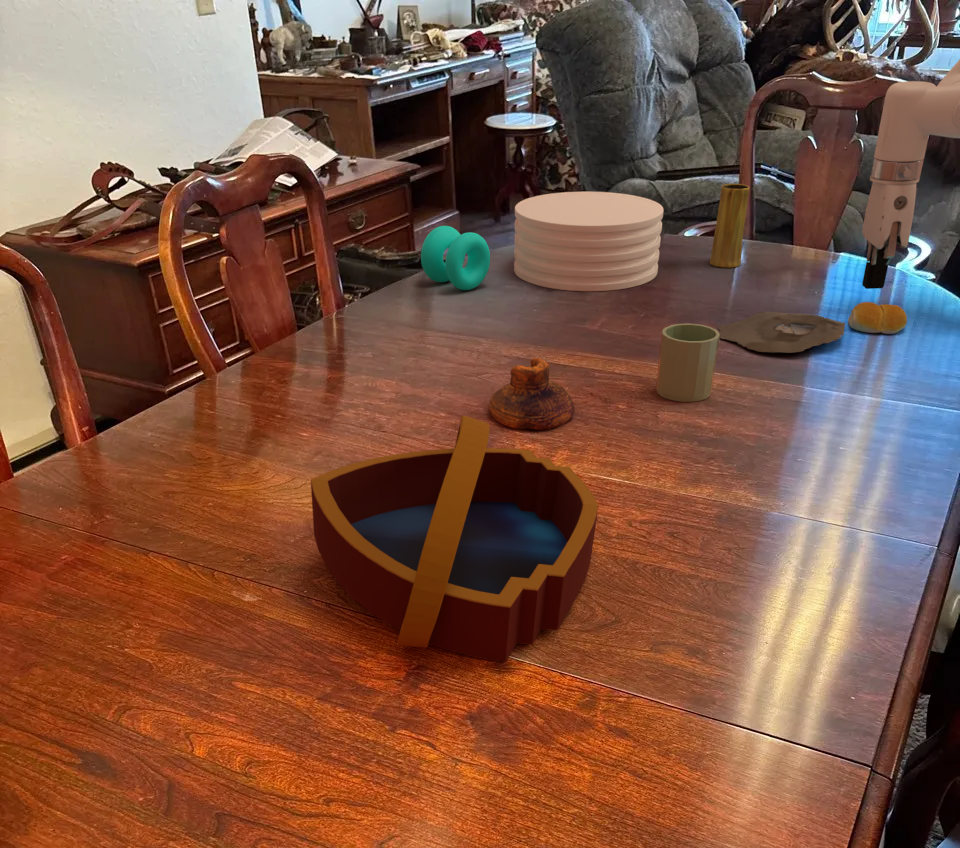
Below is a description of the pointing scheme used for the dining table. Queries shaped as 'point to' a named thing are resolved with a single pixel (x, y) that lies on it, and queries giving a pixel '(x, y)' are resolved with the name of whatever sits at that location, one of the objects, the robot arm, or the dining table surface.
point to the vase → (730, 226)
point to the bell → (531, 399)
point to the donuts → (455, 257)
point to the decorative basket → (458, 542)
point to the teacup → (687, 362)
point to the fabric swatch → (782, 331)
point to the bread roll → (877, 318)
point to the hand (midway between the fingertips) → (872, 286)
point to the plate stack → (587, 240)
